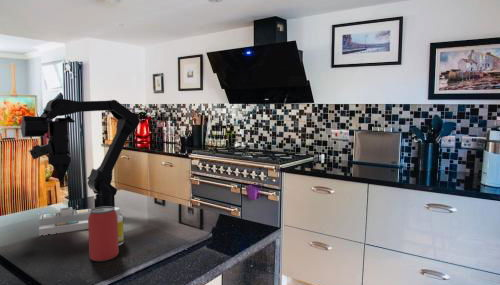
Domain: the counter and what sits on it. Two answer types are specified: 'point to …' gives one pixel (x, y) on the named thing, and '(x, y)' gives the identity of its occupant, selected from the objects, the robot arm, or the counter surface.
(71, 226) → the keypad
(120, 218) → the supplement bottle
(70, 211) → the key mid
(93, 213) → the beer can
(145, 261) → the counter surface
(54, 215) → the key
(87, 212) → the key
